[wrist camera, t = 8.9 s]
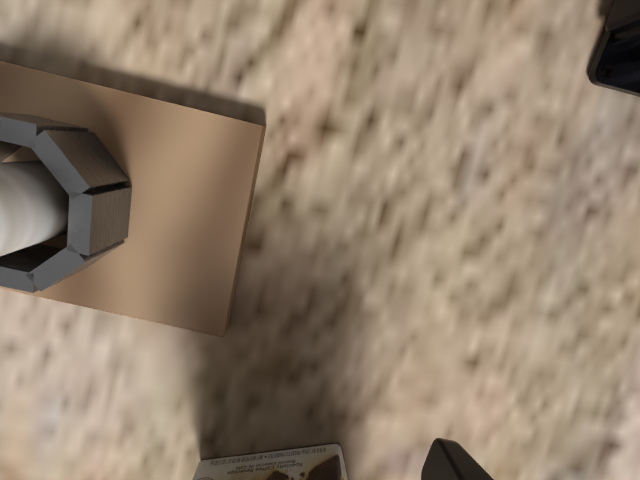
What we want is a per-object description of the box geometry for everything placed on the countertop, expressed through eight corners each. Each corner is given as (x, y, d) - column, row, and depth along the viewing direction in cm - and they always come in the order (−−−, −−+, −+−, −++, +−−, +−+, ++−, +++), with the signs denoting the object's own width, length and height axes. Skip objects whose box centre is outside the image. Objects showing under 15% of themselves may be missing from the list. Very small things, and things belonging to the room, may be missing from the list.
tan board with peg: (266, 126, 17) (235, 117, 11) (227, 327, 20) (187, 403, 14) (-31, 52, 16) (-225, 3, 11) (-27, 271, 19) (-179, 326, 13)
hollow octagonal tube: (136, 139, 16) (96, 138, 13) (124, 278, 18) (85, 304, 15) (-19, 103, 16) (-94, 94, 13) (-16, 248, 18) (-82, 268, 15)
